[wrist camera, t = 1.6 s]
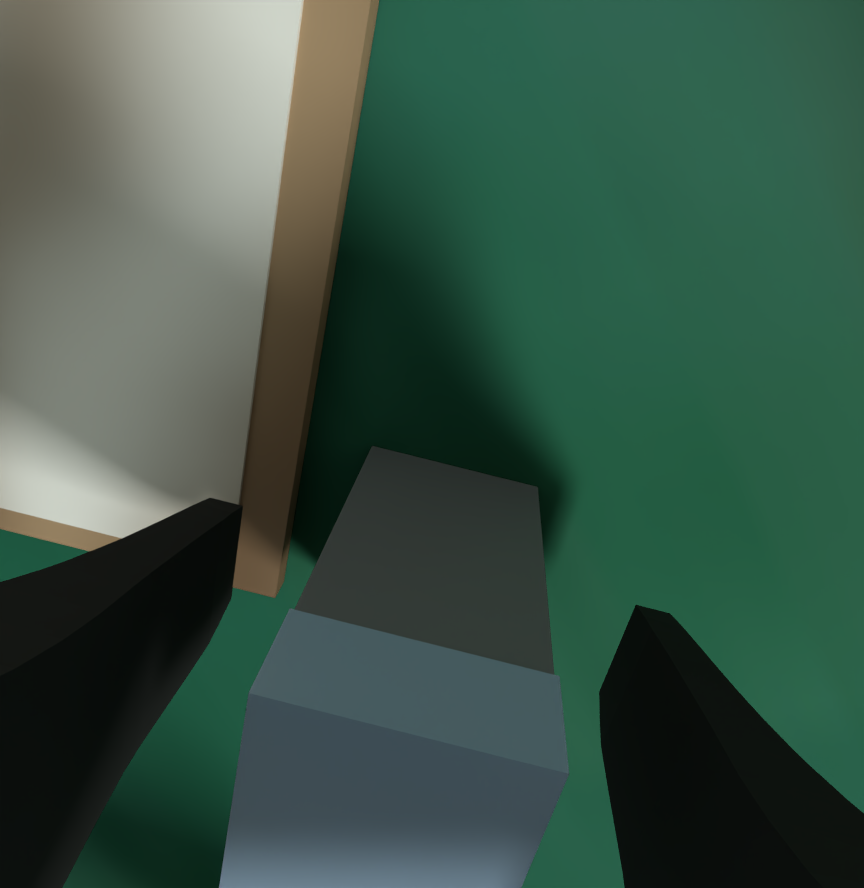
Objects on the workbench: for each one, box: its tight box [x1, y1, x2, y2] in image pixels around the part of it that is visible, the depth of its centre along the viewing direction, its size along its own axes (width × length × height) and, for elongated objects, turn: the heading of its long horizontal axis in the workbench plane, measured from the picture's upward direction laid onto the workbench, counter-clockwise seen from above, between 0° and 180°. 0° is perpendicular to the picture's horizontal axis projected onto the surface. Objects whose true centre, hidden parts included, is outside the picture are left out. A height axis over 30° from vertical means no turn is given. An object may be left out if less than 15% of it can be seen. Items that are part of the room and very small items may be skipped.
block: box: [219, 446, 569, 888], centre depth 11 cm, size 4×4×7 cm
